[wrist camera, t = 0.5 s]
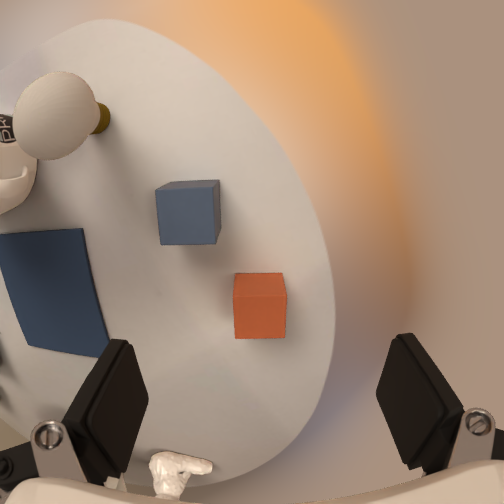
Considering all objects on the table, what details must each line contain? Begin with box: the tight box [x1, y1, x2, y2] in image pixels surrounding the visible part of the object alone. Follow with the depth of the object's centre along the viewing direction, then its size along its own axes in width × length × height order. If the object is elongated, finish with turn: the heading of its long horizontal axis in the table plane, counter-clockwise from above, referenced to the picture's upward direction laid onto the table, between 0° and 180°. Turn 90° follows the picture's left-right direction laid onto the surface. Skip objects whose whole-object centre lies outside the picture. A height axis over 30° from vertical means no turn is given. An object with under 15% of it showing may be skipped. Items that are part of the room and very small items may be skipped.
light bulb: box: [13, 72, 110, 160], centre depth 16 cm, size 6×6×10 cm
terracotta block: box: [233, 273, 287, 339], centre depth 24 cm, size 4×4×4 cm
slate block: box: [155, 180, 221, 245], centre depth 22 cm, size 4×4×4 cm
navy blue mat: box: [0, 228, 110, 358], centre depth 27 cm, size 15×14×1 cm
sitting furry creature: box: [148, 451, 212, 501], centre depth 32 cm, size 10×9×12 cm
